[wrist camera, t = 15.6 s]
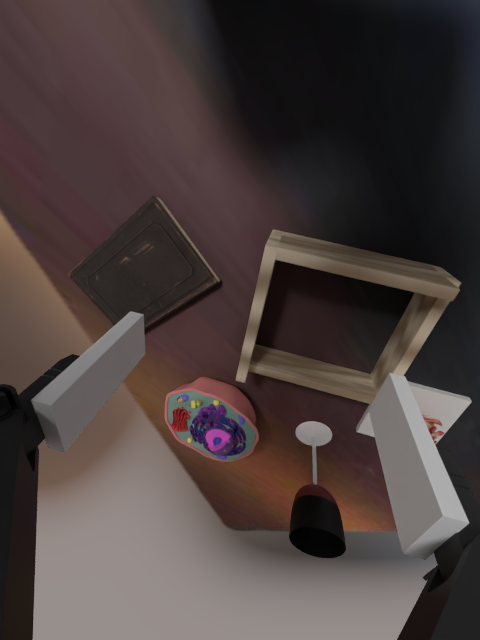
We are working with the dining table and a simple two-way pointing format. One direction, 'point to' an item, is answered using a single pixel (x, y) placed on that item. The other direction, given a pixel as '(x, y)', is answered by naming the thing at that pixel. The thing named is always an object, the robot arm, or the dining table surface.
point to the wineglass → (316, 505)
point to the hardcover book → (144, 267)
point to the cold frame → (413, 276)
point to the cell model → (212, 419)
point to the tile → (428, 408)
